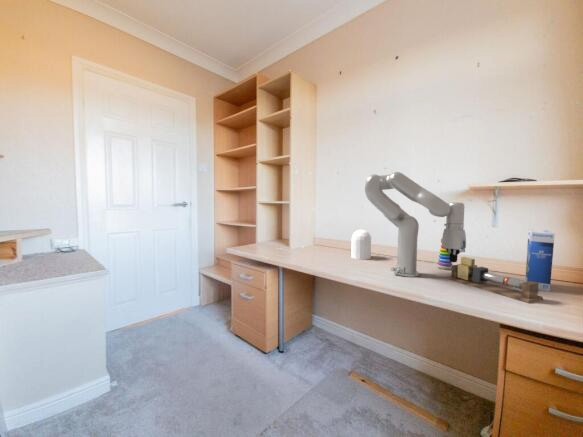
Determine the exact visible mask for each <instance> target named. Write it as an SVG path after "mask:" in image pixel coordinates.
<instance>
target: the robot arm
mask: <svg viewBox="0 0 583 437" xmlns="http://www.w3.org/2000/svg"><path fill="white" fill-rule="evenodd" d="M385 190H396V191H397V192H399V193H400V194H401V195H403V196H405V197H406V198H407V199H409V200H410V201H411V202H414V203H417V204H419V205H421V206H423V207H424V208H426V209H427V210H428V212H429V214H430V215H432V216H434V217H437V218H444V217H445V218H446V219H445V222H446V223H444V225H443V226H444V227H445V228H444V230H443V233H442V238H441V239H442V243H441V245H442V246H443V248H444V249H445V250H447V251H448V253H449V254H450V262H451V263H458V255H459V254H461V253H465V252H466V247H467V238H466V237H467V236H466V231H465V228H464V227H465V224H464V223H465V222H464V221H465V203H463V202H446V201H444V200H443V199H442V198H440V197H439V196H437V195H436V194H434V193H432V192H431V191H430V190H427V189H426V188H424V187H422V186H421V185H420V184H418V183H417V182H415V181H414V180H413V179H411V178H410V177H408V176H406V175H405V174H404V173H403V172H399V171H394V172H392V173H391V174H384V175H383V174H382V175H378V174H370V175H369V176H368V177H367V179H366V181H365V185H364V192H365V196H366V197H367V200H368V201H369V202H370V203H371V204H372V206H374V207H375V208H376V209H377V210H378V211H379V212H380V213H382V215H383V216H384V217H385V219H387V220H388V221H389V222H390V223H391V224H392V225H394V226H395V227H396V228H397V229H398V233H397V258H396V260H397V261H396V262H397V264H396V265H395V267H390V271H391V272H393V273H394V274H396V275H398V276H402V277H409V278H413V277H414V278H415V277H419V276H420V272H419V271H418V270H417V268H418V267H417V261H418V236H419V228H420V226H419V222H418V219H417V218H416V217H414V216H412V215H410V214H409V213H407V212H406V211H405V210H404V209H403V208H401V206H400V205H399V204H398V202H395V201H394V200H392V199H391V198H390V197H389V196H388V195H387V194H386V193H385V192H384V191H385Z"/></svg>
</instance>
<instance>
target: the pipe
mask: <svg viewBox="0 0 583 437" xmlns="http://www.w3.org/2000/svg"><path fill="white" fill-rule="evenodd" d="M469 276H472V277H473V269H471V268H470V270H469ZM481 279H484V280H487V282H490V283H494V284H498V285H499V284H500V285H501V286H504V287H508V288H513V289H517V290H520V291H522V283H524V282H526V281H525V280H520V279H518V278H517V279H516V278H512V277H509V276H504V275H500V274H495V273H491V272H489V271H488V272H484V271H481Z"/></svg>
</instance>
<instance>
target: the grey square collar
mask: <svg viewBox="0 0 583 437" xmlns="http://www.w3.org/2000/svg"><path fill="white" fill-rule="evenodd" d="M481 271H484V272H488V273H489V268H488V267H484V266H477V268H473V278H472V281H474V282H478V283H481V282H488V281H487V280H484V279H481Z"/></svg>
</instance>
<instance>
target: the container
mask: <svg viewBox="0 0 583 437" xmlns="http://www.w3.org/2000/svg"><path fill="white" fill-rule="evenodd" d="M350 241H351V244H350V245H351V250H350V254H351V255H350V257H351V259H353V258H354V260H361V261H362V260H367V261H368V260H370V259H371V258H372V256H371V255H372V236H371V234H370V232H369V231H367V230H366V229H356V231H354V232H353V233H352V235H351V240H350Z"/></svg>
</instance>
